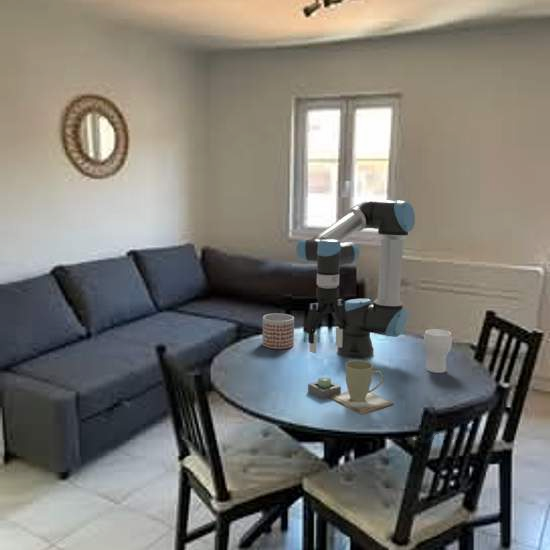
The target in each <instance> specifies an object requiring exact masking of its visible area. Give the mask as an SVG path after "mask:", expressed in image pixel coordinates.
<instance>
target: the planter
mask: <svg viewBox="0 0 550 550" xmlns="http://www.w3.org/2000/svg"><path fill="white" fill-rule="evenodd" d="M294 335H295V317H294V316H293V315H291V314H287V313H268V314H265V315H263V316H262V345H263V347H264V346H265V347H264V348H266V347H267V348H266V349H269V348H270V349H271V350H277V349H278V350H281V351H282V350H287V349H291V348H293V346H294V344H295V342H294V340H295V338H294V337H295V336H294Z"/></svg>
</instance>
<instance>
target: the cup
mask: <svg viewBox="0 0 550 550" xmlns="http://www.w3.org/2000/svg"><path fill="white" fill-rule="evenodd" d="M424 332H425V333H424V336H423V342H422V343H423V348H424V350H425V353H426V356H427V357H426V359H427V361H426V365H425V370H426V371H428V372H429V373H430V372H431V373H436V374H437V373H439V374H440V373H441V374H442V373H445V372H446V371H447V364H446V360H447V356H448V354H449V353H450V351H451V348H452V345H453V336H452V333H451V332H450V331H448V330H444V329H438V328H437V329H436V328H432V329H426V331H424Z"/></svg>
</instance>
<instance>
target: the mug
mask: <svg viewBox="0 0 550 550" xmlns="http://www.w3.org/2000/svg"><path fill="white" fill-rule="evenodd" d="M373 365H374V364H372V363H371V362H369V361H366V360H361V359H359V360H358V359H355V360H353V359H352V360H349V361H346V362H345V366H344V367H345V381H346V382H345V383H346V387H347V391H349V395H350V398H351V400H353V401H357V402H361V401H364V400H365V398H366V396H367V393H373V392H374V391H375V390H376V389H378V388H379V387H380V386H381V385H382V384H383V380H384V375H383V372H382V371H381V370H379V369H377V370H373V368H374V366H373ZM376 373H379V374H380V378H381V379H380V382H379V383H377V385H376V386H375V387H372V388H371V383H372V378H373V375H375V374H376ZM370 388H371V389H370Z"/></svg>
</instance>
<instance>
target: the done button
mask: <svg viewBox="0 0 550 550" xmlns="http://www.w3.org/2000/svg"><path fill="white" fill-rule="evenodd" d="M317 381H318V387H320V388H322V389H326V388H329V387H331V382H332V379H331V378H330V377H325V376H324V377H323V376H322V377H319V378H317Z"/></svg>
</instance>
